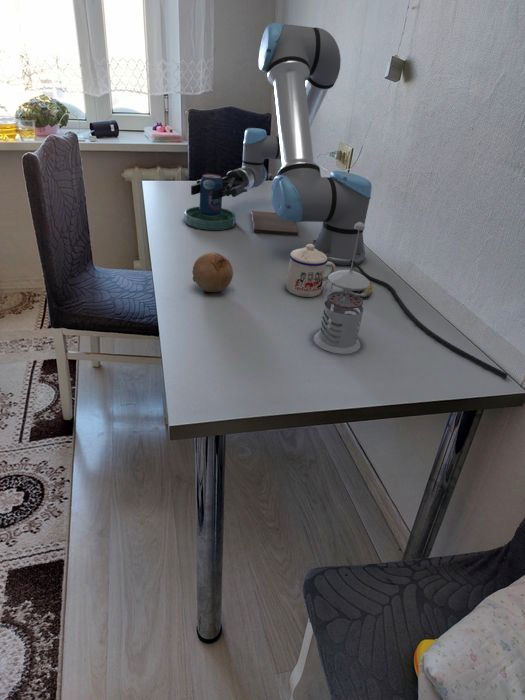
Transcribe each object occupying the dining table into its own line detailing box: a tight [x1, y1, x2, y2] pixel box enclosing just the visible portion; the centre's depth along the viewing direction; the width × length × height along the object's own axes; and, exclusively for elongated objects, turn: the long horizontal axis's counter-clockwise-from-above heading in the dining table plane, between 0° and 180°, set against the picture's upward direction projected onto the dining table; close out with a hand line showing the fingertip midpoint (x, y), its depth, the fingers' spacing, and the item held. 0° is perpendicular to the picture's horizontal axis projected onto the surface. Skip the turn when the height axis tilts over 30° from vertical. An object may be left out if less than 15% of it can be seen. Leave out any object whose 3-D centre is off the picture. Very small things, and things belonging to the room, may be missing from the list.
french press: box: [313, 222, 371, 355], centre depth 97 cm, size 10×12×25 cm
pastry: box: [343, 280, 373, 298], centre depth 125 cm, size 9×7×4 cm
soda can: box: [199, 173, 223, 217], centre depth 158 cm, size 7×7×12 cm
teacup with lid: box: [286, 243, 336, 298], centre depth 121 cm, size 12×9×12 cm
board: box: [250, 210, 299, 237], centre depth 167 cm, size 20×14×1 cm
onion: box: [191, 252, 234, 293], centre depth 117 cm, size 10×9×10 cm
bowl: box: [184, 205, 236, 231], centre depth 161 cm, size 16×16×3 cm
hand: (202, 192), depth 153 cm, fingers closed on soda can, 7 cm apart
